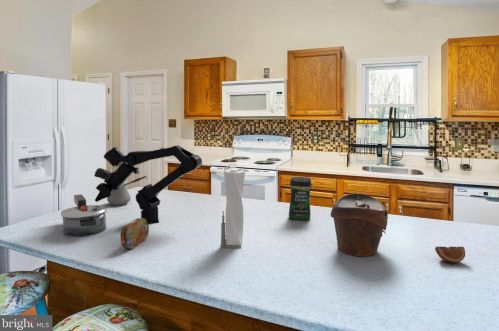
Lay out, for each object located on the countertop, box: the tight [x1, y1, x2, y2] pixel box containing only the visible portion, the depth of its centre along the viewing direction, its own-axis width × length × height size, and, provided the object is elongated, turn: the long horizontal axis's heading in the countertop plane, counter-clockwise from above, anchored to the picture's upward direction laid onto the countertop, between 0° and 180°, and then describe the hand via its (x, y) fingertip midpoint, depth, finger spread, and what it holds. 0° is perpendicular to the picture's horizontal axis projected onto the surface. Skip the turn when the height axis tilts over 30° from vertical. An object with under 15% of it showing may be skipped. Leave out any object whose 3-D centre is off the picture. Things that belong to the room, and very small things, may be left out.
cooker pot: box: [62, 212, 107, 238], centre depth 137 cm, size 26×15×7 cm, turn 32°
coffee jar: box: [288, 176, 312, 221], centre depth 152 cm, size 10×8×19 cm
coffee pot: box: [106, 175, 149, 207], centre depth 176 cm, size 21×12×15 cm, turn 83°
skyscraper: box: [220, 163, 246, 249], centre depth 120 cm, size 8×8×28 cm
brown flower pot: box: [330, 192, 389, 257], centre depth 115 cm, size 18×20×18 cm
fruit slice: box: [434, 246, 466, 264], centre depth 107 cm, size 8×7×5 cm
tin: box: [120, 217, 150, 250], centre depth 120 cm, size 15×3×8 cm, turn 168°
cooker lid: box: [60, 193, 107, 219], centre depth 138 cm, size 25×16×4 cm, turn 33°
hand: (95, 201), depth 146 cm, fingers closed
